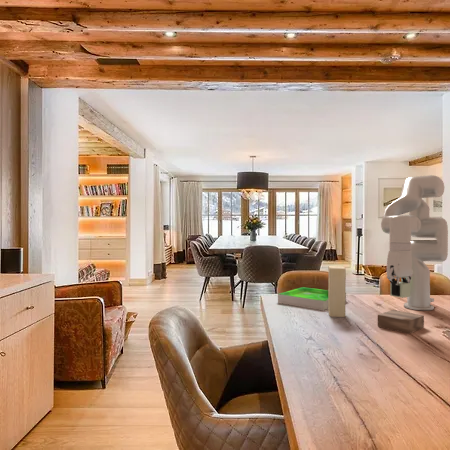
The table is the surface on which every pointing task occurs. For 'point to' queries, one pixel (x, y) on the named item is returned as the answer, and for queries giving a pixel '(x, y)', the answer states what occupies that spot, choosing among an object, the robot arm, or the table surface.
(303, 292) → the tray
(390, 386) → the table surface
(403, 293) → the cream cube
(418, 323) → the walnut block
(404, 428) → the table surface
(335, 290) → the tall beige block
